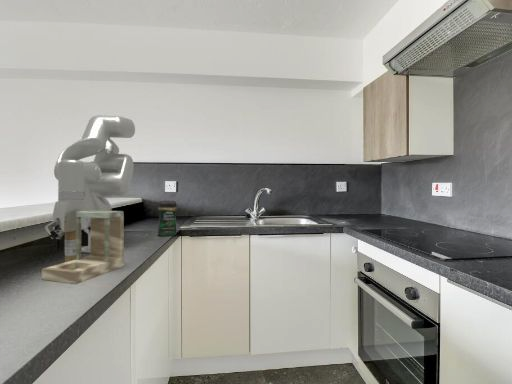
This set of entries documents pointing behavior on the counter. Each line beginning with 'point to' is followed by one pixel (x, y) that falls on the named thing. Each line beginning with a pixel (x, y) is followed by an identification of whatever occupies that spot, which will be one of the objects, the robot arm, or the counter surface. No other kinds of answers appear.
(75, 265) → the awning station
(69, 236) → the sprinkles bottle
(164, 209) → the coffee jar
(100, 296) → the counter surface
